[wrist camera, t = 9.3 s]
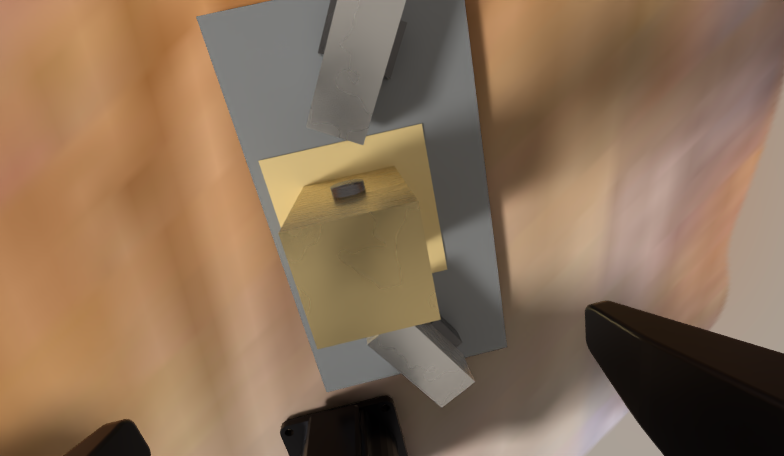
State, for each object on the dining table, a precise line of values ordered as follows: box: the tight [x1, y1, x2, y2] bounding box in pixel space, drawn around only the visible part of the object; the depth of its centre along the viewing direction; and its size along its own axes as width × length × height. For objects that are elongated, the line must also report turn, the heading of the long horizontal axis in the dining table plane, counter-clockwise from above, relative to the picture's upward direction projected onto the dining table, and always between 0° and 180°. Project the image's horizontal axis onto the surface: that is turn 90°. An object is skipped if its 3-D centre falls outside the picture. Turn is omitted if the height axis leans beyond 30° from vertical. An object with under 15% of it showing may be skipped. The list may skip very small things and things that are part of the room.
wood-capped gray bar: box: [306, 0, 475, 408], centre depth 15 cm, size 18×4×3 cm, turn 12°
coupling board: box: [196, 0, 507, 392], centre depth 17 cm, size 18×10×1 cm, turn 12°
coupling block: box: [278, 166, 441, 349], centre depth 14 cm, size 5×4×6 cm
